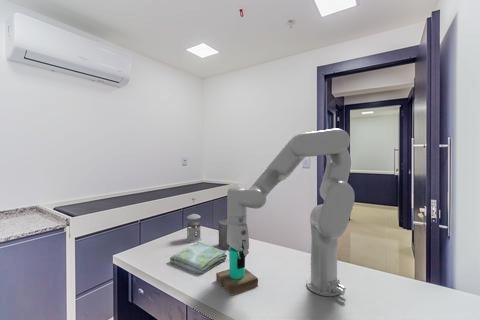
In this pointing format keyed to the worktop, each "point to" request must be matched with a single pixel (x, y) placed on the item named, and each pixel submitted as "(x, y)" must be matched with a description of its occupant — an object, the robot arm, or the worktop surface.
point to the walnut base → (236, 282)
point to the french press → (193, 228)
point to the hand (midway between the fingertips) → (237, 264)
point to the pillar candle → (223, 234)
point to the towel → (199, 257)
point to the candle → (235, 265)
